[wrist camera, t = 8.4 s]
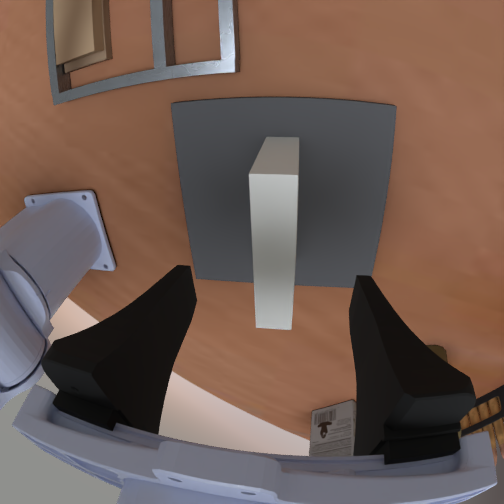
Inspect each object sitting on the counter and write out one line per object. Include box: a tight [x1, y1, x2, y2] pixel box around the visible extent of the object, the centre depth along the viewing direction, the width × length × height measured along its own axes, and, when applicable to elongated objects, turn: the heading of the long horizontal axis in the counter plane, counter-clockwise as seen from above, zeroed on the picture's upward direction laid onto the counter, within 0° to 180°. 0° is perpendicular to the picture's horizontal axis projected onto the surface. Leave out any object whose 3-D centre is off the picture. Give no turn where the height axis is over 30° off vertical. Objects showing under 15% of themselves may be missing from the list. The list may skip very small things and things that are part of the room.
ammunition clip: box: [460, 385, 504, 466], centre depth 28 cm, size 11×2×12 cm, turn 131°
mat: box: [171, 97, 396, 288], centre depth 21 cm, size 14×14×1 cm
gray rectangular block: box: [249, 137, 299, 330], centre depth 18 cm, size 2×9×7 cm, turn 2°
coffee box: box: [309, 400, 356, 457], centre depth 30 cm, size 9×6×16 cm
